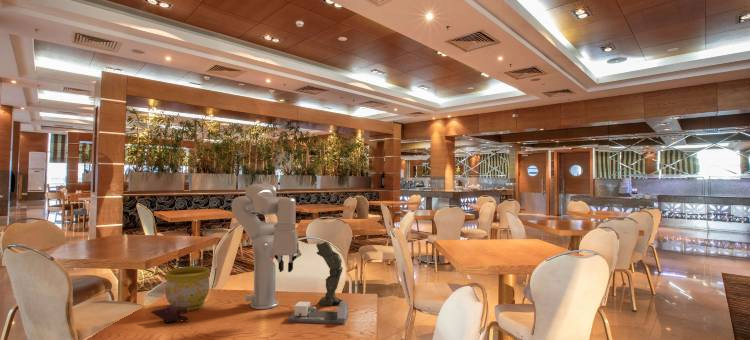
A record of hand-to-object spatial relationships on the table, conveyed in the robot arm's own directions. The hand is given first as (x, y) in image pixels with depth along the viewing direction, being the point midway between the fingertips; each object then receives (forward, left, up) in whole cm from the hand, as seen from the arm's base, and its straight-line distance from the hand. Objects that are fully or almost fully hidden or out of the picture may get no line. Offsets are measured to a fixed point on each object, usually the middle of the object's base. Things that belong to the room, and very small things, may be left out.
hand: (285, 270), depth 162 cm
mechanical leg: (+15, +20, -19) cm, 31 cm away
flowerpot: (-47, +7, -19) cm, 52 cm away
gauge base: (+15, 0, -19) cm, 24 cm away
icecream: (-44, -11, -20) cm, 49 cm away
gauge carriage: (+9, -1, -17) cm, 20 cm away
